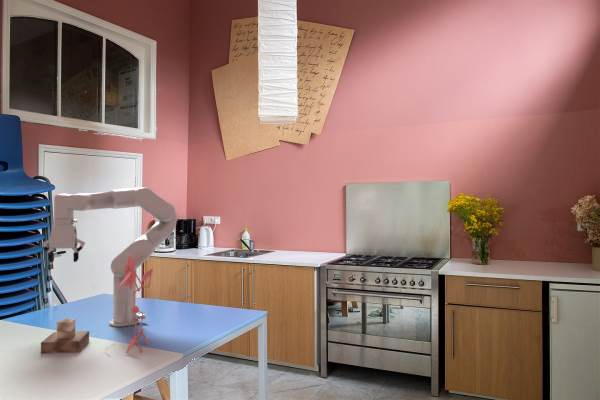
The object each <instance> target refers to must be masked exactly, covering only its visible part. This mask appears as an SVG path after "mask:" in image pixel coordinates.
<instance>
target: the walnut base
mask: <svg viewBox="0 0 600 400" xmlns="http://www.w3.org/2000/svg"><path fill="white" fill-rule="evenodd" d="M88 341H90V330H75V335H74V336H73V337H72V338H63V339H57V331H54V332H52V333H50V334H49V335H48V336H47V337H46V338H44V339H43V340H42V341H41V342H40V354H42V353H44V354H60V353H61V354H62V353H63V354H64V353H65V352H66V354H67V353H80V352H81V350H82V349H83V348H85V346H86V345H87V344H88V343H89V342H88ZM87 342H88V343H87ZM86 343H87V344H86ZM85 344H86V345H85Z"/></svg>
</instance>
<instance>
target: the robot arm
mask: <svg viewBox="0 0 600 400" xmlns="http://www.w3.org/2000/svg"><path fill="white" fill-rule="evenodd" d="M139 207H140V208H141V209H143V210H144V211H146V212H147V213H149V214H150V215H151V216H152V217H154V218H155V219H156V222H155V223H154V224H153V225H152V226H151V227H150V228H149V229H148V230H146V232H144V233H143V234H142V235H141V236H139V237H138V238H136V239H135V240H134V241H133V242H132V243H131V244H129V245H128V246H127V247H126V248H125V249H123V250H122V251H121V252H119V254H117V255H116V256H115V257H114V258H113V259H112V261H111V264H110V271H111V272H112V274H113V286H112V287H113V288H112V289H113V290H112V292H113V294H112V301H113V302H112V306H113V307H112V319H111V320H109V322H108V324H109V325H110V326H112V327H130V326H134V325H136V319H135V316H136V318H137V324H138V323H140V319H141V320H142V313H138V312H137V313H135V316H134V313H133V312H132V311H131V309H132V307H133V306H134V296H133V293H134V291H136V290H137V288H136V285H135V283H134V281H133V286H132V288H131V289H130V288H129V284H128V285H127V286H126V285H125V283H124V284H123V285H122V286H121V287H120V288H119V289H118V287H119V285H120V283H121V282H122V281H123V279H124V278H125V277H126V272H125V264H127V265H128V257H129V256H130V255H131V261H132V258H135V266H134V268H135V271H136V272H137V269H138V268H139V267H141V265H143V263H145V262H146V261H147V260H148V259H149V258H151V256H152V255H153V254H154V251H155V250H156V249H157V248H158V247H159V246H160V245H161V244H163V243H164V242H165V241H166V239H168V238H169V237H170V236H171V234H172V233H173V232H174V230H175V229H176V226H177V219H178V216H177V211H176V208H175V206H174V205H173V204H172V203H170V202H168V201H166V200H165V199H163V198H162V197H160V196H159V195H157V194H156V193H155V192H154V191H153V190H152V189H151V188H149V187H146V186H141V187H134V188H133V187H131V188H121V189H120V188H119V189H112V190H108V191H103V192H94V193H93V192H92V193H77V194H70V193H59V194H58V193H57V194H55V195H54V198H53V214H54V215H53V225H52V227H51V231H50V238H49V239H47V240H45V241H42V242H41V245H42V247H43V248H44V249H43V250H45V251H46V252H47V254H48V261H49V263H53V262H54V261H55V253H54V250H56V249H57V250H58V249H59V250H60V249H62V250H64V249H66V250H67V249H69V250H70V249H71V250H72V251H73V262H74V263H76V262H78V260H80V259H79V257H80V256H79V252H80V251H81V250H82V249H84V247H85V245H86V242H85V241H84V240H81V239H79V238H78V232H77V227H76V225H75V224H76V223H78V220H77V219H75V218H74V211H76V212H77V211H78V212H84V211H92V210H93V211H94V210H101V209H115V210H118V209H128V208H139ZM48 244H49V246H48ZM78 244H80V245H79V247H78ZM135 281H136V282H137V278H136V279H135ZM136 301H137V292H135V306H137V302H136ZM145 319H147V315H146V314H145V313H143V320H145Z"/></svg>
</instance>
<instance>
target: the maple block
mask: <svg viewBox="0 0 600 400" xmlns="http://www.w3.org/2000/svg"><path fill="white" fill-rule="evenodd" d="M75 331H76V318H61V319H59V320H58V321H57V322H56V332H57V339H63V338H72V337H73V336H74V335H75Z"/></svg>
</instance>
